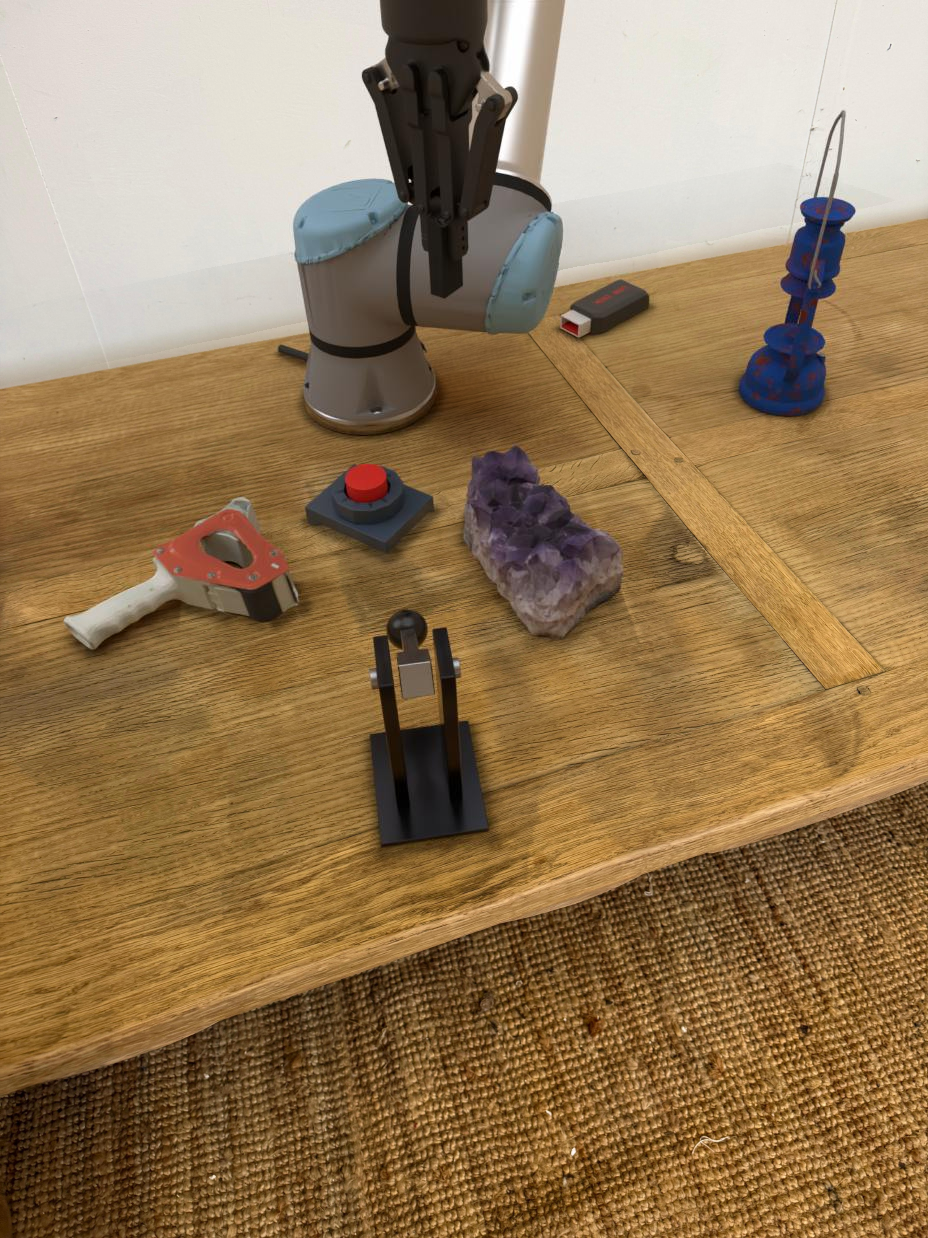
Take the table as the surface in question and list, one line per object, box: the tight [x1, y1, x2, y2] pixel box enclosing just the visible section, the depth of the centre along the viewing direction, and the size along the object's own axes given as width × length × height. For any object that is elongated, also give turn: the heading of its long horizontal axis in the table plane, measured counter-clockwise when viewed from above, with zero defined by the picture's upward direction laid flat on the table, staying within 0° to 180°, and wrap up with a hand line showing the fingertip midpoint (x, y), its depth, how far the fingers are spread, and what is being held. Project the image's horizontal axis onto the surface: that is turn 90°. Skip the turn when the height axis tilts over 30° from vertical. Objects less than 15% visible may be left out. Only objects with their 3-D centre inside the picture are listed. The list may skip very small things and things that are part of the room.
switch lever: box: [385, 608, 436, 700], centre depth 67 cm, size 13×3×3 cm
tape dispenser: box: [63, 496, 300, 650], centre depth 86 cm, size 18×5×20 cm
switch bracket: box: [368, 626, 490, 848], centre depth 67 cm, size 10×8×16 cm
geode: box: [462, 445, 624, 640], centre depth 86 cm, size 20×12×10 cm, turn 30°
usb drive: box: [559, 279, 650, 339], centre depth 119 cm, size 5×12×3 cm, turn 132°
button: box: [345, 463, 388, 503], centre depth 91 cm, size 4×4×2 cm
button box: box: [304, 463, 435, 554], centre depth 93 cm, size 10×8×4 cm
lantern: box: [738, 109, 857, 417], centre depth 96 cm, size 11×9×30 cm
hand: (447, 289), depth 81 cm, fingers closed
